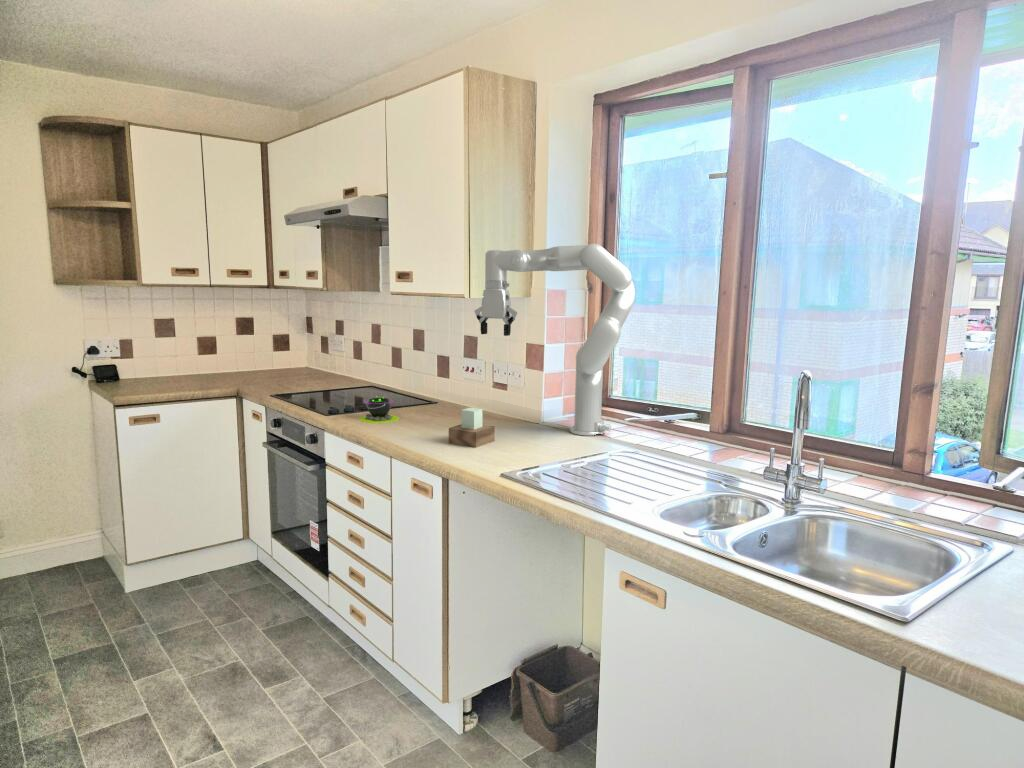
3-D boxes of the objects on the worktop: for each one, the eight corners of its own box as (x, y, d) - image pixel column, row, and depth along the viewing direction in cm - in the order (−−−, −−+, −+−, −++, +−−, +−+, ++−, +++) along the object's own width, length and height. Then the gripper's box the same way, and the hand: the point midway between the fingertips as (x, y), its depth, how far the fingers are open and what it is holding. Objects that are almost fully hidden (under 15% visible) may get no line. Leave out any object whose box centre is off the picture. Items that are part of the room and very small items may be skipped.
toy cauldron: (351, 418, 257) (351, 390, 255) (384, 413, 268) (384, 386, 266) (373, 425, 247) (372, 395, 245) (406, 419, 257) (406, 391, 255)
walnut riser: (494, 440, 225) (494, 426, 224) (475, 447, 216) (476, 432, 215) (468, 436, 231) (468, 422, 230) (448, 442, 221) (448, 428, 221)
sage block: (482, 426, 223) (482, 409, 222) (473, 429, 219) (474, 411, 218) (470, 424, 226) (470, 407, 225) (461, 427, 222) (461, 409, 221)
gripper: (522, 286, 232) (521, 335, 235) (481, 285, 241) (481, 332, 244) (511, 286, 226) (510, 337, 229) (469, 285, 235) (469, 334, 238)
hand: (495, 334), depth 237 cm, fingers open, 9 cm apart
